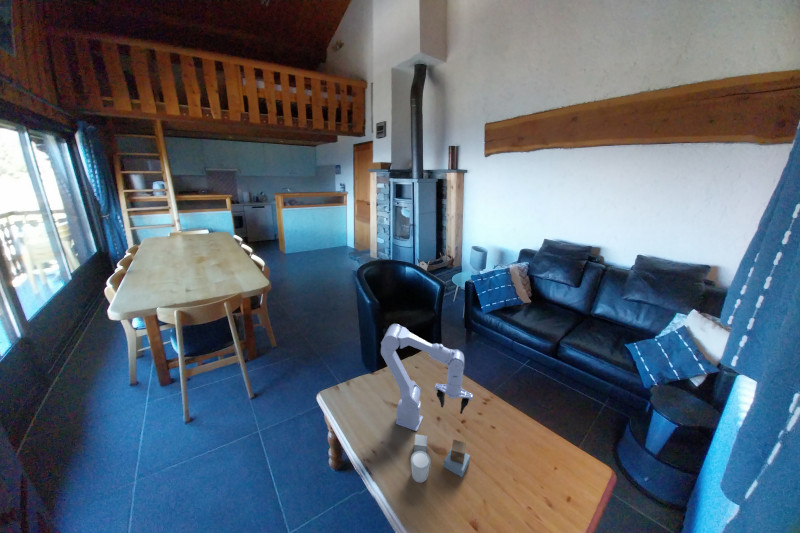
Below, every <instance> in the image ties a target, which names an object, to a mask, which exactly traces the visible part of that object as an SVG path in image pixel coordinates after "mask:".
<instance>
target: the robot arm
mask: <svg viewBox="0 0 800 533" xmlns="http://www.w3.org/2000/svg"><path fill="white" fill-rule="evenodd" d="M380 344H381V347H380V355H381V356H382V358H383V359H384V361H385V363H386V366H387V367H388V369H389V372H390V373H391V375H392V377H393V378H394V380H395V383H396V384H397V386H398V388H399V389H400V391H399V392H400V399H399V401H398V403H397V406H396V421H395V424H396V425H397V426H398V425H399V426H401V427H404V428H405V429H409V430H412V431H415V432H417V431H418V430H419V427H420V425H421V423H422V421H423V419H424V416H423V415H421V401H420V398H421V394H422V388H421V387H420V386H419V385H418V384H417V382H415V380H411V378H410V376H409V374H408V373H407V370H406V368H405V367H404V365H403V363H402V361H401V359H400V357H399V355H398V353H397V351H396V350H397V349H398V348H399V349H404V348H406V347H409V346H410V347H413V348H415V349H418V350H420V351H423V352H424V353H428V355H429V357H430V358H431V359H433V360H436V361H437V362H439V363H441V364H443V365H446V366H447V368H448V369H447V374H446V375H447V378H446V384H442V383H437V382H436V383H435V386H434V391H436V397H437V398H438V400H439V403H440V407H441V408H442V409H443V408H444V405H445V399H446V398H445V396H446V395H447V396H448V398H449V399H451V400H454V399H455V398H456V399H457V398H458V399H459V398H460V399H461V402H460V411H459V412H460V414H461V415H462V414H463V411H464V409H466V407H467V406H468V404H469V402H472V401H473V396H474V394H473V393H470V392H468V391H467V390H465V389H463V387H462V386H463V377H464V376H463V375H464V370H465V355H464V353H463V352H462V351H461V350H459V349H451V348H448V347H445V346H444V345H443V344H442V343H437V342H436V343H431V342H428V341H427V340H425V339H423V338H421V337H419V336H418V335H416V334H414V333H413V332H410V331H409V329H407V327H405V326H402V325H400V324H398V323H393V324H391V325H389V327H388V328H387V330H386V332H385V334H384V337H383V339H382V341H381V342H380Z"/></svg>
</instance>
